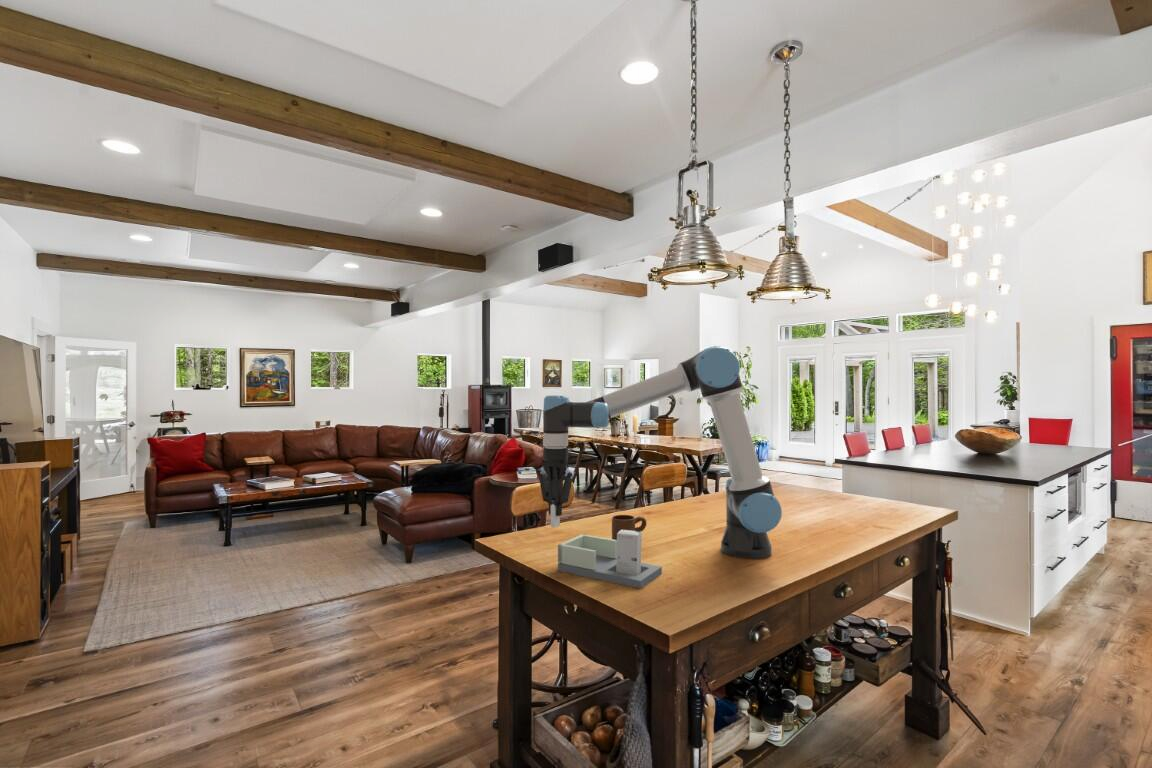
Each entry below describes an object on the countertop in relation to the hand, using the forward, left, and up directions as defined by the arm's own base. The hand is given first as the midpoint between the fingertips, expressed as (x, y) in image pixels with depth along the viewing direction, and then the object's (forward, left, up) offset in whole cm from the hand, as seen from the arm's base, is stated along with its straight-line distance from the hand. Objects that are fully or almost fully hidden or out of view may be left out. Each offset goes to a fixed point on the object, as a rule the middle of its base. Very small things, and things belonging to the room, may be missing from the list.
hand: (555, 526), depth 162 cm
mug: (-11, -26, -11) cm, 30 cm away
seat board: (-18, 0, -11) cm, 21 cm away
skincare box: (-25, 0, -11) cm, 27 cm away
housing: (-11, 0, -8) cm, 14 cm away
